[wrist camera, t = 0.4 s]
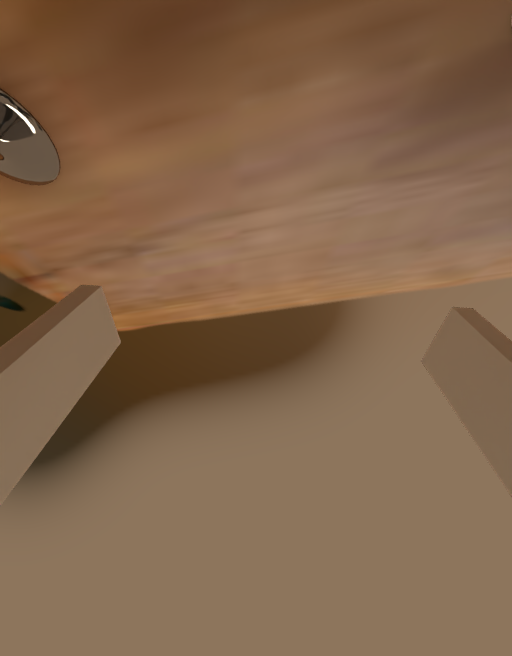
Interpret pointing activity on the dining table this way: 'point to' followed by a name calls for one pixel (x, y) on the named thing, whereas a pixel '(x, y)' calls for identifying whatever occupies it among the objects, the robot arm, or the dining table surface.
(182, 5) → the dining table surface
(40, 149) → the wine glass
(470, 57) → the dining table surface
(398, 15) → the dining table surface
